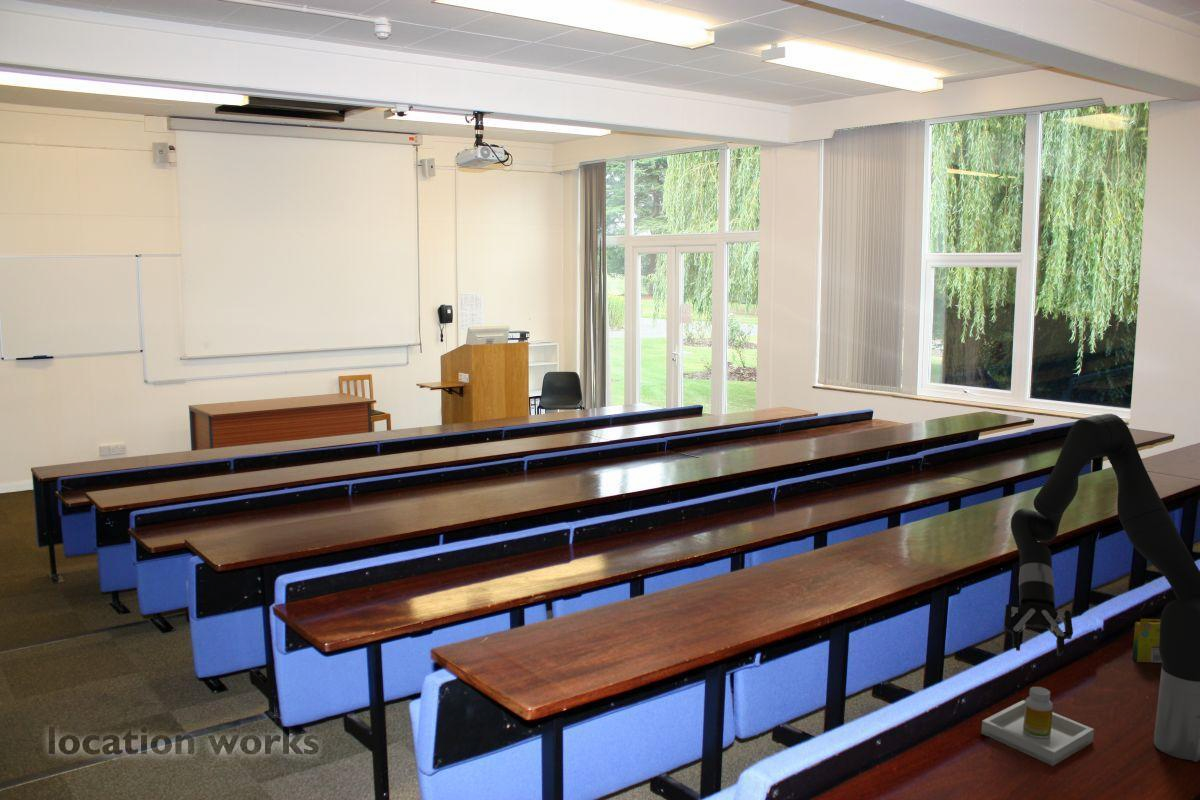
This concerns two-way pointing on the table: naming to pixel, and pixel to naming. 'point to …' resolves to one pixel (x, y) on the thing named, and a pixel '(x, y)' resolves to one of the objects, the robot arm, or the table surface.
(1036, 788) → the table surface
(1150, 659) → the crayon box
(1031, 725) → the supplement bottle
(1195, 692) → the robot arm
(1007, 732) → the tray
